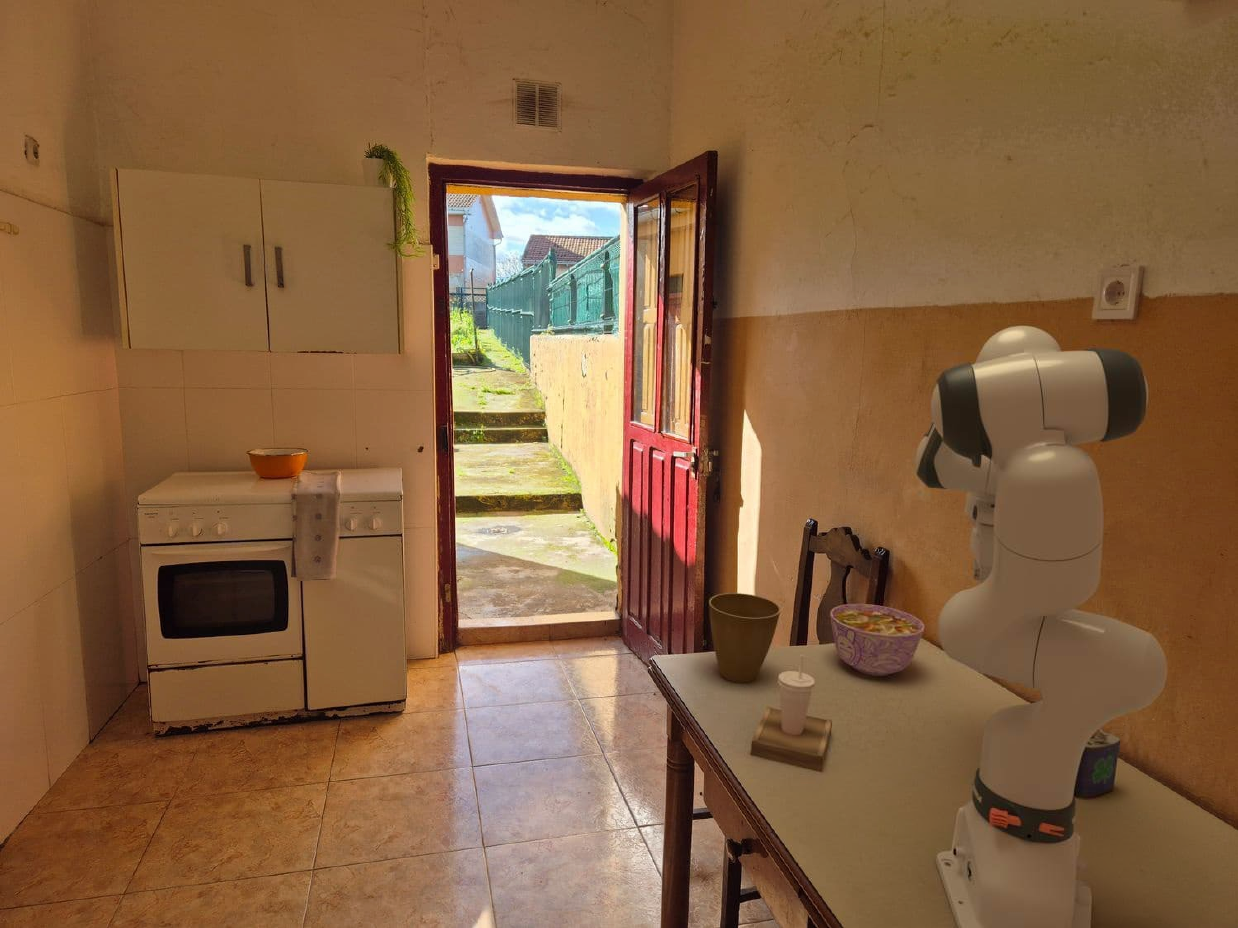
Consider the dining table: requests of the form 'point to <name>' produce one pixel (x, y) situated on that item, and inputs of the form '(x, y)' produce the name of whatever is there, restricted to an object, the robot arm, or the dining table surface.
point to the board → (792, 741)
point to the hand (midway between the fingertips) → (980, 585)
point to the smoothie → (794, 699)
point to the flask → (1097, 766)
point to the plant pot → (742, 633)
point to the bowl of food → (875, 637)
